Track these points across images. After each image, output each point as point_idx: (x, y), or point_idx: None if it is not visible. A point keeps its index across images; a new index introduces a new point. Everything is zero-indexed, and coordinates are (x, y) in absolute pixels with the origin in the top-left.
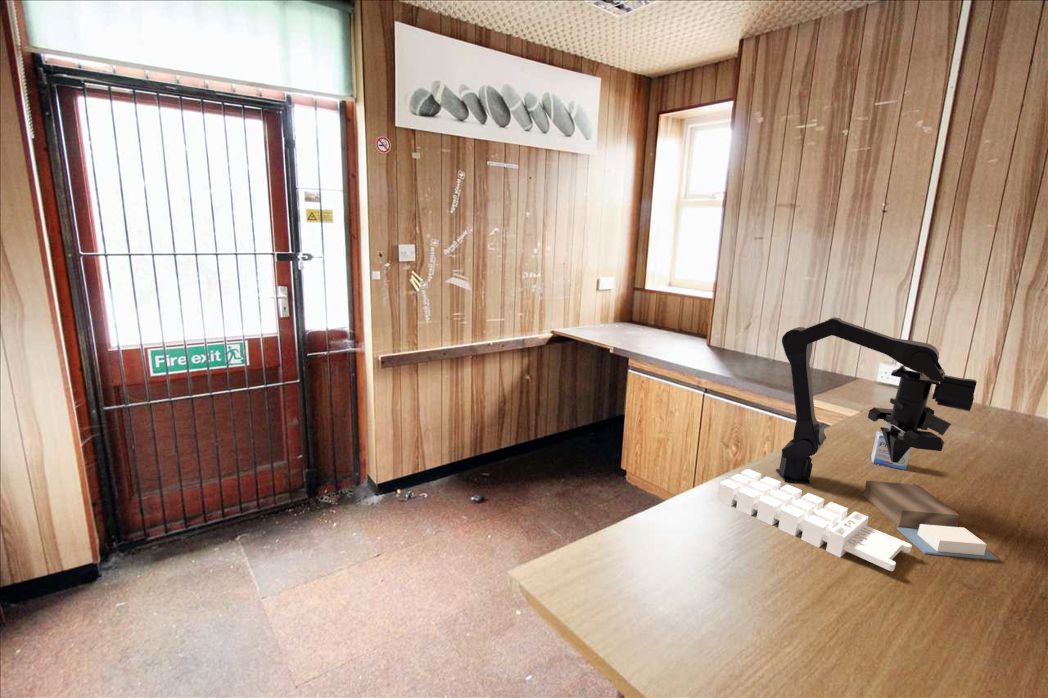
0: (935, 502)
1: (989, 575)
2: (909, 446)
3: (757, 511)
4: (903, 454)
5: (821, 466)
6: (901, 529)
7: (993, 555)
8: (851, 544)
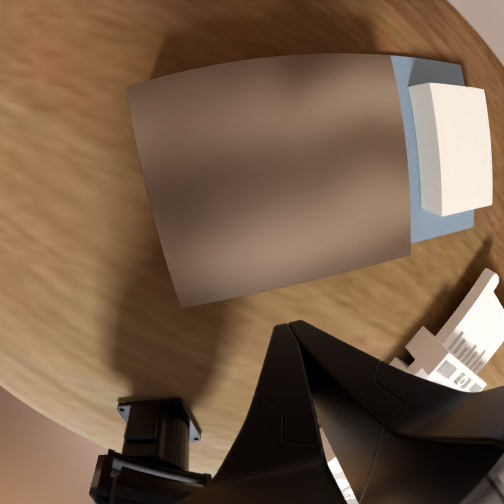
0: (311, 85)
1: (501, 131)
2: (442, 401)
3: None
4: (358, 354)
5: (30, 338)
6: None
7: (453, 64)
8: (479, 366)
